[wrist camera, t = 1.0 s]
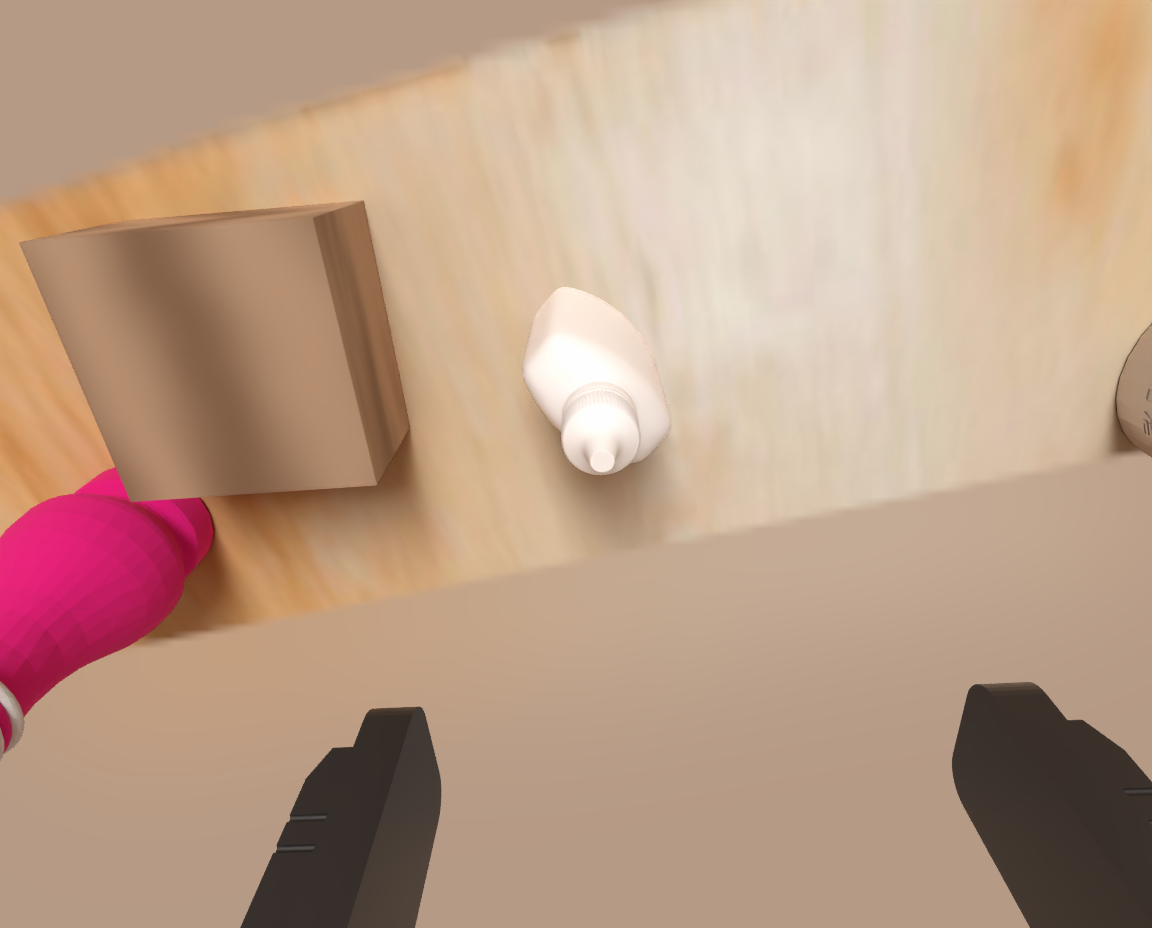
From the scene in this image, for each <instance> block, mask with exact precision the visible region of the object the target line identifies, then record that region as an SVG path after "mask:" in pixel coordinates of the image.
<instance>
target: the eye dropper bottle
mask: <svg viewBox="0 0 1152 928" xmlns="http://www.w3.org/2000/svg"><path fill="white" fill-rule="evenodd" d="M522 371H523V378H524V381H525V384H526V386H527V388H528V390H529V392H530V394H531V396H532V397H533V399H534V401H535V402H536V404H537V405H538V407H539V408H540V410H541V411H542V412H543V414H544V415H545V416H546V417H547V419H548V420H549V421H550V422H551V423H552V424H553V425H554V426H555V427H556V428H557V429H558V430H559V431H560V432H561V443H562V447H563V449H562V450H563V451H564V454H565V455H566V457H567V458H568V460H569V461H570V463H572V464H573V466H576V468H578V469H579V470H582V471H583V472H586V473H590V474H594V475H608V474H612V473H615V472H619V470H622V469H623V468H626V466H628V465H629V463H634V462H639V461H641V460H643V459H645V458H646V457H647V456H648V455H650V454H651V453H652V452H653V451H654V450H655V449H656V448H657V447H658V446H659V445H660V444H661V442H662V441H663V440H664V439H665V438H666V437H667V435H668V433H669V431H670V429H671V415H670V411H669V407H668V404H667V400H666V397H665V394H664V390H663V387H662V384H661V381H660V378H659V374H658V371H657V368H656V365H655V362H654V359H653V357H652V354H651V352H650V350H649V348H648V346H647V345H646V343H645V341H644V340H643V338H642V337H641V335H640V334H639V332H638V331H637V330H636V329H635V327H634V326H633V325H632V324H631V323H630V322H629V321H628V320H627V319H626V318H625V317H624V316H623V315H622V314H621V313H620V312H619V311H617V310H616V309H615V308H613V307H612V306H611V305H609V304H608V303H606V302H604V301H603V300H601V299H599V298H597V297H595V296H593V295H591V294H589V293H586V292H584V291H581V290H578V289H574V288H570V287H560V288H559V289H557V290H556V291H554V292H553V293H552V295H551V296H550V297H549V298H548V299H547V301H546V302H545V303H544V304H543V305H542V307H541V308H540V309H539V311H538V312H537V313H536V315H535V317H534V319H533V322H532V326H531V330H530V334H529V338H528V342H527V347H526V351H525V356H524V360H523V366H522Z"/></svg>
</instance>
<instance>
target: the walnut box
mask: <svg viewBox="0 0 1152 928" xmlns="http://www.w3.org/2000/svg"><path fill="white" fill-rule="evenodd" d="M19 244H20V246H21V249H22V251H23V253H24V255H25V258H26V260H27V262H28V265H29V267H30V269H31V272H32V274H33V276H34V279H35V281H36V283H37V286H38V288H39V290H40V293H41V295H42V297H43V300H44V302H45V304H46V307H47V309H48V311H49V313H50V316H51V318H52V320H53V323H54V325H55V327H56V330H57V332H58V334H59V337H60V339H61V341H62V344H63V346H64V348H65V351H66V353H67V355H68V358H69V360H70V362H71V364H72V367H73V369H74V371H75V374H76V376H77V378H78V381H79V383H80V385H81V388H82V390H83V392H84V395H85V397H86V399H87V402H88V404H89V406H90V409H91V411H92V413H93V416H94V418H95V420H96V422H97V425H98V427H99V429H100V432H101V434H102V436H103V439H104V441H105V443H106V446H107V448H108V450H109V453H110V455H111V457H112V460H113V462H114V464H115V467H116V469H117V471H118V473H119V476H120V478H121V480H122V483H123V485H124V487H125V490H126V492H127V494H128V497H129V499H130V501H131V502H138V501H153V500H168V499H182V498H197V497H212V496H227V495H242V494H256V493H271V492H286V491H301V490H316V489H330V488H345V487H360V486H375V485H377V484H378V483H379V481H380V479H381V477H382V476H383V474H384V472H385V470H386V469H387V467H388V465H389V463H390V461H391V460H392V458H393V456H394V454H395V453H396V451H397V449H398V447H399V446H400V444H401V442H402V440H403V439H404V437H405V435H406V433H407V432H408V430H409V428H410V424H409V419H408V414H407V409H406V405H405V400H404V395H403V390H402V385H401V380H400V375H399V371H398V366H397V361H396V356H395V351H394V346H393V341H392V337H391V332H390V327H389V322H388V317H387V312H386V308H385V303H384V298H383V293H382V288H381V283H380V278H379V274H378V269H377V264H376V259H375V254H374V249H373V244H372V240H371V235H370V230H369V225H368V220H367V215H366V211H365V206H364V201H353V202H341V203H329V204H318V205H306V206H294V207H282V208H270V209H259V210H247V211H235V212H223V213H212V214H200V215H188V216H176V217H164V218H153V219H141V220H129V221H121V222H116V223H111V224H107V225H102V226H97V227H92V228H87V229H82V230H77V231H72V232H67V233H63V234H58V235H53V236H48V237H43V238H38V239H33V240H28V241H24V242H19Z"/></svg>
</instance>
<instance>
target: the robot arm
mask: <svg viewBox="0 0 1152 928" xmlns="http://www.w3.org/2000/svg"><path fill="white" fill-rule="evenodd" d="M1116 400H1117V416H1118V418H1119V421H1120V424H1121V427H1122V429H1123V432H1124V433H1125V434H1126V436H1127V437H1128V438H1129V440H1130V441H1131V442H1132V444H1133V445H1135V446H1136V447H1138V448H1139V449H1140V450H1142V451H1143V452H1145V453H1146V454H1148V455H1149V456H1151V457H1152V325H1151V326H1150V327H1149V328H1148V330H1147V331H1146V332H1145V333H1144V334H1143V335H1142V336H1141V338H1140V340H1139V341H1138V343H1137V344H1136V346H1135V347H1134V349H1133V351H1132V352H1131V354H1130V355H1129V357H1128V359H1127V362H1126V364H1125V367H1124V369H1123V372H1122V374H1121V376H1120V380H1119V386H1118V391H1117V397H1116ZM952 771H953V778H954V782H955V786H956V789H957V793H958V795H959V798H960V800H961V802H962V804H963V806H964V808H965V810H966V811H967V813H968V815H969V817H970V819H971V821H972V822H973V824H974V826H975V828H976V830H977V832H978V834H979V835H980V837H981V839H982V841H983V843H984V845H985V846H986V848H987V850H988V852H989V854H990V856H991V857H992V859H993V861H994V863H995V865H996V866H997V868H998V870H999V872H1000V873H1001V875H1002V877H1003V879H1004V881H1005V883H1006V885H1007V886H1008V888H1009V890H1010V892H1011V894H1012V896H1013V897H1014V899H1015V901H1016V903H1017V905H1018V907H1019V908H1020V910H1021V912H1022V914H1023V916H1024V917H1025V919H1026V921H1027V923H1028V925H1029V926H1030V928H1152V782H1151V781H1150V779H1149V778H1148V777H1147V776H1146V775H1145V774H1144V772H1143V771H1142V770H1141V769H1140V768H1139V767H1138V765H1137V764H1136V763H1135V762H1134V761H1133V760H1132V758H1131V757H1130V756H1129V755H1128V754H1127V753H1126V751H1125V750H1123V749H1122V748H1121V747H1119V746H1118V745H1116V744H1115V743H1114V742H1112V741H1111V740H1110V739H1108V738H1107V737H1105V736H1104V735H1103V734H1101V733H1100V732H1098V731H1097V730H1096V729H1094V728H1093V727H1092V726H1090V725H1089V724H1087V723H1086V722H1085V721H1083V720H1067V719H1066V718H1065V717H1064V716H1063V714H1062V713H1061V712H1060V711H1059V709H1058V708H1057V707H1056V706H1055V705H1054V703H1053V702H1052V701H1051V700H1050V698H1049V697H1048V696H1047V695H1046V693H1045V692H1044V691H1043V690H1042V689H1041V688H1040V687H1039V686H1037V685H1035V684H1034V683H1031V682H1021V683H999V684H975V685H973V686H972V687H971V688H970V689H969V691H968V694H967V698H966V703H965V706H964V711H963V715H962V719H961V723H960V727H959V732H958V735H957V740H956V744H955V749H954V752H953V757H952ZM440 807H441V780H440V774H439V769H438V765H437V761H436V757H435V753H434V749H433V745H432V740H431V736H430V733H429V729H428V724H427V721H426V716H425V713H424V711H423V709H422V708H421V707H402V708H379V709H371V710H369V712H368V713H367V714H366V716H365V718H364V720H363V723H362V726H361V728H360V731H359V733H358V736H357V739H356V741H355V744H354V746H353V747H343V748H332V750H331V751H330V752H329V753H328V754H327V755H326V756H325V758H324V759H323V760H322V761H321V762H320V763H319V764H318V766H317V767H316V768H315V769H314V770H313V771H312V772H311V774H310V775H309V776H308V777H307V778H306V780H305V782H304V784H303V786H302V789H301V791H300V793H299V795H298V798H297V800H296V802H295V805H294V807H293V809H292V811H291V814H290V821H289V822H287V823H286V825H285V828H284V830H283V832H282V834H281V836H280V839H279V841H278V843H277V851H276V853H273V855H272V857H271V859H270V861H269V864H268V866H267V868H266V871H265V873H264V875H263V878H262V880H261V882H260V884H259V887H258V889H257V891H256V894H255V896H254V898H253V900H252V902H251V905H250V907H249V909H248V912H247V914H246V916H245V918H244V921H243V923H242V925H241V928H415V925H416V920H417V916H418V910H419V907H420V902H421V898H422V893H423V888H424V883H425V879H426V874H427V870H428V866H429V861H430V857H431V852H432V848H433V843H434V838H435V834H436V830H437V825H438V820H439V815H440Z"/></svg>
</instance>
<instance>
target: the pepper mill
mask: <svg viewBox="0 0 1152 928" xmlns="http://www.w3.org/2000/svg"><path fill="white" fill-rule="evenodd" d="M212 540H213V526H212V522H211V518H210V515H209V513H208V511H207V509H206V507H205V506H204V504H203V502H202V500H201V499H200V498H199V497H197V498H182V499H168V500H153V501H138V502H131V501H130V499H129V497H128V494H127V492H126V490H125V487H124V485H123V483H122V480H121V478H120V476H119V473H118V471H117V469H116V467H115V468H112V469H109V470H106V471H104V472H102V473H101V474H99V475H98V476H96V477H95V478H94V479H92V480H91V481H90V482H88V483H87V484H86V485H84V486H83V487H81V488H80V489H79V490H77V491H76V492H75V493H74V494H69V495H63V496H58V497H55V498H52V499H48V500H46V501H44V502H42V503H40V504H38V505H36V506H35V507H33V508H31V509H30V510H29V511H28V512H27V513H25V514H24V515H23V516H22V517H21V518H19V519H18V520H17V521H16V522H15V523H14V524H12V525H11V526H10V527H9V528H8V529H7V530H6V531H5V532H4V533H3V535H2V536H1V538H0V760H1V759H2V756H3V754H5V753H6V752H8V751H9V750H11V749H12V748H13V747H15V745H16V744H17V743H18V742H19V740H20V738H21V736H22V734H23V730H24V716H25V715H26V714H27V713H28V711H29V710H30V709H31V708H32V706H33V705H34V704H35V703H36V702H37V701H38V700H40V699H41V698H42V697H43V696H44V695H45V694H46V693H47V692H49V691H50V690H51V689H52V688H53V687H54V686H55V685H56V684H58V683H59V682H60V681H62V680H63V679H65V678H66V677H67V676H69V675H70V674H72V673H73V672H75V671H76V670H78V669H79V668H81V667H83V666H85V665H87V664H89V663H91V662H93V661H96V660H98V659H100V658H103V657H105V656H107V655H110V654H112V653H114V652H116V651H119V650H121V649H123V648H126V647H128V646H129V645H131V644H133V643H134V642H136V641H137V640H139V639H140V638H142V637H144V636H145V635H146V634H148V633H149V632H151V631H152V630H153V629H155V628H156V627H157V626H158V625H159V624H160V623H161V622H162V621H163V620H164V619H165V618H166V617H167V616H168V615H169V614H170V613H171V612H172V610H173V609H174V607H175V606H176V604H177V603H178V601H179V599H180V597H181V595H182V591H183V588H184V580H185V578H186V577H187V576H188V575H189V574H190V573H191V572H192V571H193V569H194V568H195V567H196V566H197V565H198V564H199V563H200V561H201V560H202V559H203V558H204V557H205V556H206V554H207V553H208V551H209V549H210V547H211V544H212Z"/></svg>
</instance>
